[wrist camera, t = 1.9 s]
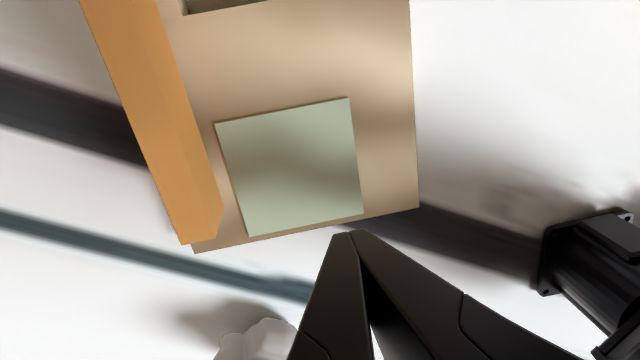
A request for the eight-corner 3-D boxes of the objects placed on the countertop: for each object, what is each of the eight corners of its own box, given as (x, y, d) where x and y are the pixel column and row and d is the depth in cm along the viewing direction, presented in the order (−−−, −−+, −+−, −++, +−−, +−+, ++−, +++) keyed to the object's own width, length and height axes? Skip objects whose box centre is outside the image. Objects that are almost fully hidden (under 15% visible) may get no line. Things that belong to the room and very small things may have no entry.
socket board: (410, 195, 22) (420, 208, 20) (200, 239, 22) (193, 256, 20) (379, -302, 13) (393, -350, 11) (12, -246, 12) (-28, -287, 11)
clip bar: (1, -295, 11) (-145, -467, 7) (64, -304, 11) (-49, -480, 7) (193, 210, 19) (172, 255, 15) (229, 203, 19) (216, 246, 15)
